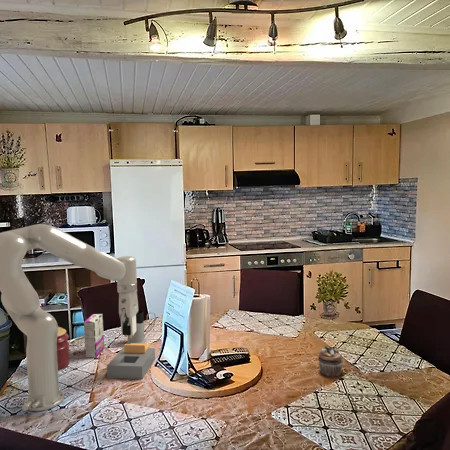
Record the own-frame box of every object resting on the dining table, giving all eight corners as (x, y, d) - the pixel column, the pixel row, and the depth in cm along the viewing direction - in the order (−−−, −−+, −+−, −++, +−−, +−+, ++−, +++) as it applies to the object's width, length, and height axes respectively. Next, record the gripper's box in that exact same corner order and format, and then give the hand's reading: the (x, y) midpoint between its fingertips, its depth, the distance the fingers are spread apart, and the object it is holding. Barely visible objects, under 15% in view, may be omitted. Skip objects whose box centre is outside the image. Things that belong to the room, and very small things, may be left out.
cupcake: (315, 374, 157) (315, 349, 156) (321, 364, 165) (321, 341, 164) (340, 379, 152) (340, 354, 151) (345, 369, 161) (345, 345, 160)
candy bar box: (93, 348, 186) (92, 313, 185) (104, 348, 186) (103, 313, 185) (84, 358, 175) (83, 321, 173) (96, 358, 175) (94, 321, 173)
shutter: (144, 353, 167) (144, 345, 166) (124, 352, 168) (124, 344, 167) (150, 345, 175) (150, 338, 175) (130, 344, 176) (130, 337, 176)
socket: (142, 378, 155) (142, 366, 154) (107, 377, 156) (107, 365, 156) (155, 359, 173) (154, 348, 172) (123, 358, 174) (123, 347, 174)
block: (132, 338, 158) (132, 315, 157) (121, 338, 158) (120, 315, 157) (136, 334, 162) (135, 311, 162) (125, 334, 163) (124, 311, 162)
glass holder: (125, 340, 195) (124, 310, 193) (153, 336, 201) (153, 306, 199) (128, 347, 187) (127, 315, 185) (158, 342, 193) (157, 311, 191)
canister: (57, 374, 160) (55, 331, 159) (29, 371, 163) (26, 329, 161) (76, 360, 173) (74, 320, 171) (49, 358, 175) (47, 319, 174)
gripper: (129, 293, 150) (131, 340, 151) (142, 282, 167) (144, 325, 168) (109, 293, 151) (112, 340, 152) (125, 282, 167) (127, 325, 169)
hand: (129, 332), depth 160 cm, fingers closed on block, 4 cm apart
